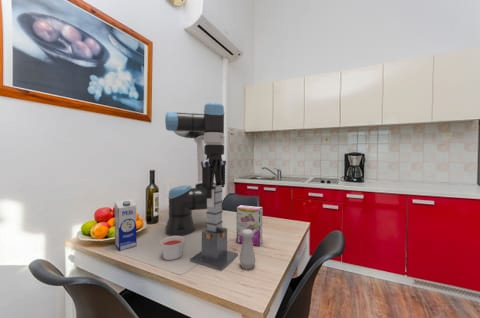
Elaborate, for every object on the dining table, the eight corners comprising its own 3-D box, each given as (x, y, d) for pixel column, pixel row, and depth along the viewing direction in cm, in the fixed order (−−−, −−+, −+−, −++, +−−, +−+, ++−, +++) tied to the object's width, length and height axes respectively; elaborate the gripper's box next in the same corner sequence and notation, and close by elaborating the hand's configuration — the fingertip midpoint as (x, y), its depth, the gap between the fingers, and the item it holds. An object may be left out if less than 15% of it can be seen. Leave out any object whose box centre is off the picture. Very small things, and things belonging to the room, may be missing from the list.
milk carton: (132, 241, 94) (131, 198, 94) (137, 245, 89) (136, 200, 89) (114, 246, 89) (114, 200, 89) (118, 251, 84) (118, 203, 84)
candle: (165, 250, 85) (165, 235, 85) (187, 250, 85) (187, 235, 85) (156, 261, 76) (156, 245, 76) (180, 262, 76) (180, 245, 76)
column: (206, 243, 77) (206, 185, 77) (213, 239, 81) (213, 184, 81) (216, 245, 75) (215, 186, 75) (222, 241, 79) (222, 185, 79)
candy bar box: (236, 243, 92) (235, 207, 92) (239, 239, 97) (239, 204, 96) (260, 246, 88) (260, 209, 88) (262, 242, 93) (262, 206, 93)
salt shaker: (238, 262, 76) (238, 227, 75) (254, 261, 76) (254, 227, 76) (240, 271, 70) (240, 233, 70) (256, 270, 70) (256, 233, 70)
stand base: (190, 261, 76) (189, 229, 76) (209, 248, 87) (209, 220, 87) (221, 271, 70) (221, 235, 70) (237, 255, 80) (237, 225, 80)
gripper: (208, 143, 68) (208, 212, 69) (234, 145, 84) (234, 201, 84) (191, 143, 72) (191, 209, 72) (218, 145, 87) (218, 199, 87)
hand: (214, 205), depth 78 cm, fingers closed on column, 4 cm apart
